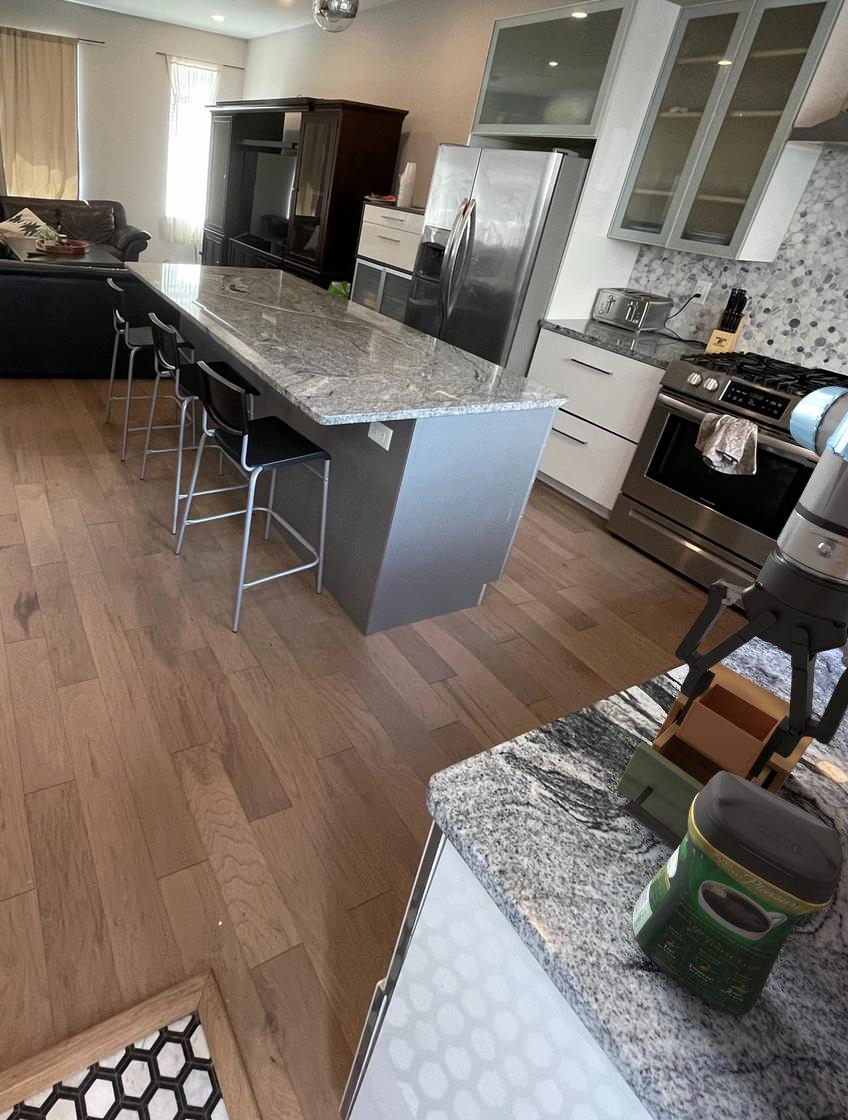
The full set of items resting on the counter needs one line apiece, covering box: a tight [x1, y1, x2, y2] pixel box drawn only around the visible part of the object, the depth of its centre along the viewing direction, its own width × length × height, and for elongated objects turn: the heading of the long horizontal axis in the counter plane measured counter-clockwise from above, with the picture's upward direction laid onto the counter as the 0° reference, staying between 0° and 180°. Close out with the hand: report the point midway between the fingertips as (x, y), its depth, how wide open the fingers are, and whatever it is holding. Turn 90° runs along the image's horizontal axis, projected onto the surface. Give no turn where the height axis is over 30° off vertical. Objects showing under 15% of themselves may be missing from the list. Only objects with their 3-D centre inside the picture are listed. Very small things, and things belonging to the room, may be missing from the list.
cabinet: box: [650, 662, 820, 796], centre depth 76 cm, size 14×12×9 cm
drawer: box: [615, 722, 773, 852], centre depth 68 cm, size 17×10×7 cm, turn 127°
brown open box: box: [676, 681, 781, 779], centre depth 67 cm, size 6×6×5 cm
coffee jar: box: [631, 771, 844, 1016], centre depth 53 cm, size 10×8×19 cm
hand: (719, 744), depth 67 cm, fingers closed on brown open box, 6 cm apart
